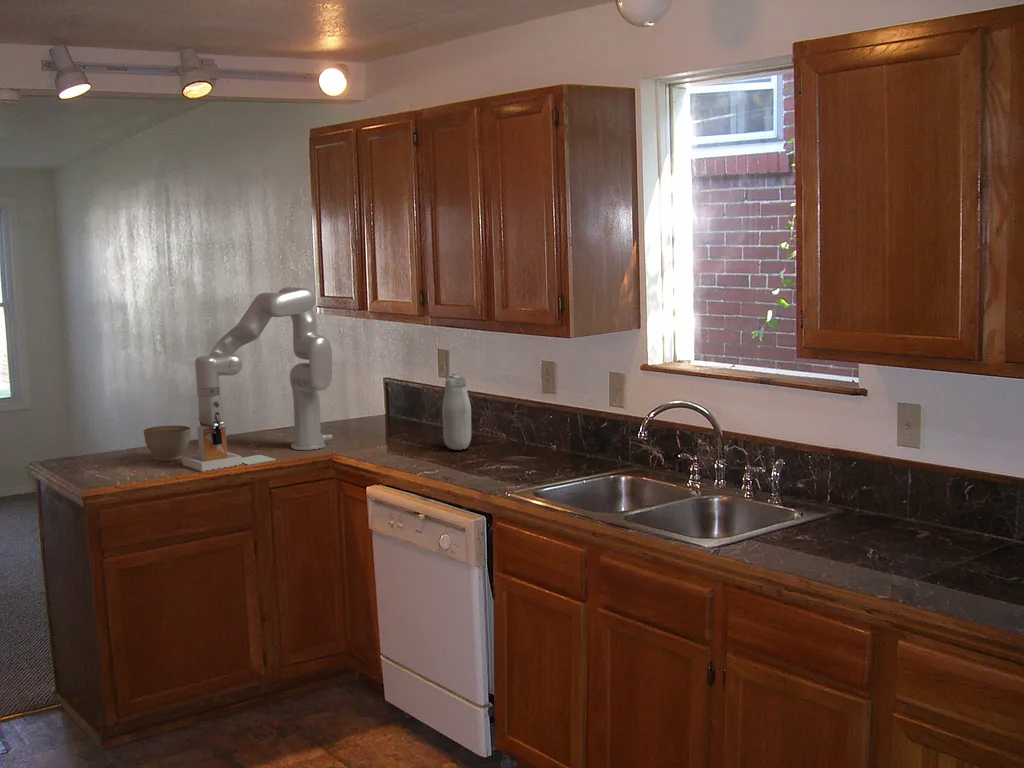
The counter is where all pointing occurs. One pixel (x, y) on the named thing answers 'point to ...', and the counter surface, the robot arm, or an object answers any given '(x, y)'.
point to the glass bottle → (456, 413)
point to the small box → (211, 444)
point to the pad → (256, 459)
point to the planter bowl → (167, 441)
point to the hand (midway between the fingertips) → (212, 442)
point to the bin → (211, 462)
